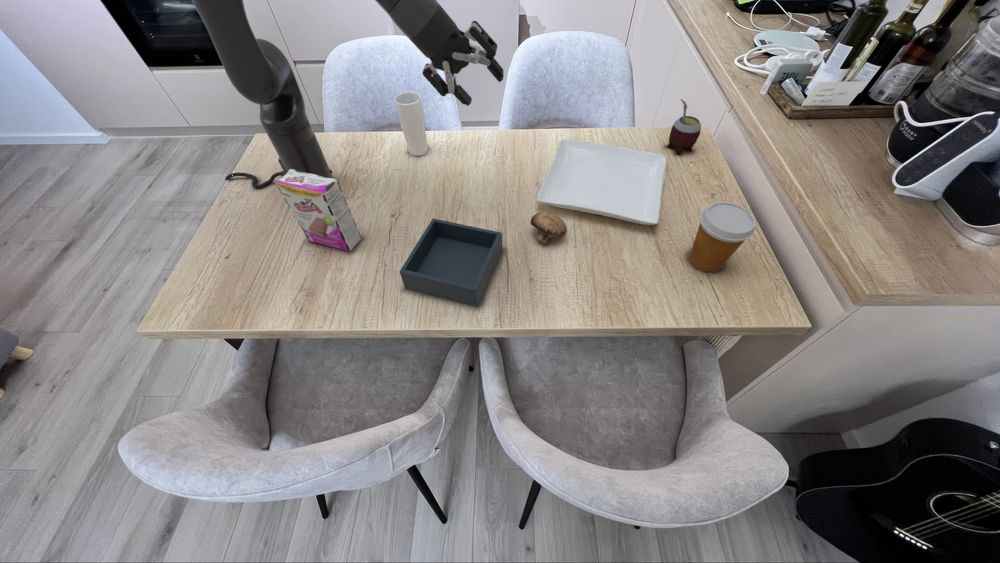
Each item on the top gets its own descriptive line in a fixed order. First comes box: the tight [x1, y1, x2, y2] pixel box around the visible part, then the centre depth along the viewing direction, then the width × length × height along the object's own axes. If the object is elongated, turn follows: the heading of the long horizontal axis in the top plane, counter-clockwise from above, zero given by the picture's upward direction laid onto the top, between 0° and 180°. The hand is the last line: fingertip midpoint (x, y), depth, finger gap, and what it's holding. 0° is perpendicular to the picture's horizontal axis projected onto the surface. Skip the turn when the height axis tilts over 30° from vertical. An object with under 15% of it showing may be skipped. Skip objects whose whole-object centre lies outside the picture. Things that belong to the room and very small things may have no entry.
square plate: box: [535, 138, 668, 226], centre depth 96 cm, size 27×27×4 cm
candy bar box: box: [275, 169, 362, 253], centre depth 82 cm, size 11×5×16 cm, turn 71°
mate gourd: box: [666, 98, 702, 156], centre depth 101 cm, size 8×8×15 cm
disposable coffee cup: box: [689, 201, 757, 273], centre depth 77 cm, size 10×10×12 cm
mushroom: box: [530, 211, 568, 245], centre depth 86 cm, size 8×8×6 cm
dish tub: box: [399, 218, 504, 308], centre depth 80 cm, size 16×16×5 cm
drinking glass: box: [393, 91, 429, 157], centre depth 104 cm, size 7×7×15 cm
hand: (485, 91), depth 77 cm, fingers open, 8 cm apart
